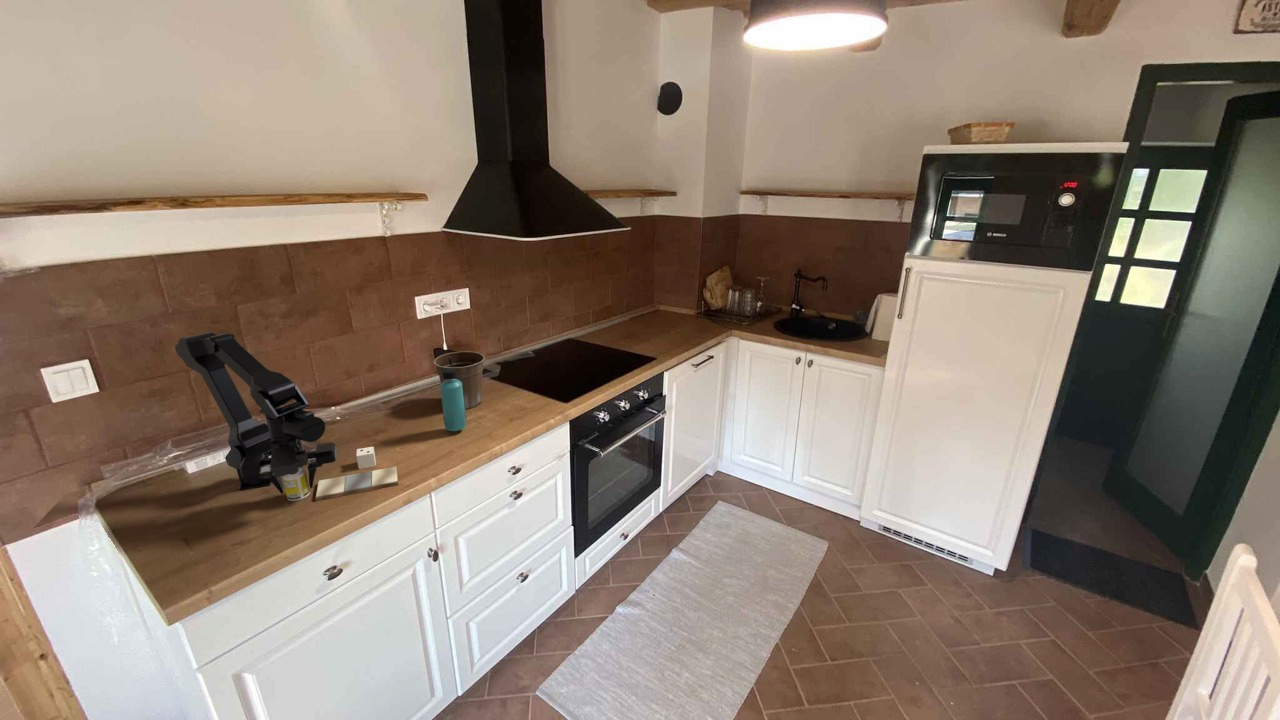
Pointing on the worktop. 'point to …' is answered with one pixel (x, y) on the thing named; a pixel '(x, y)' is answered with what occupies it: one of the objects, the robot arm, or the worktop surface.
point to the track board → (356, 483)
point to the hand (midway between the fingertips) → (297, 490)
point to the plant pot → (464, 373)
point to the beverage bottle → (452, 401)
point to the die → (366, 457)
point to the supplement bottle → (296, 485)
